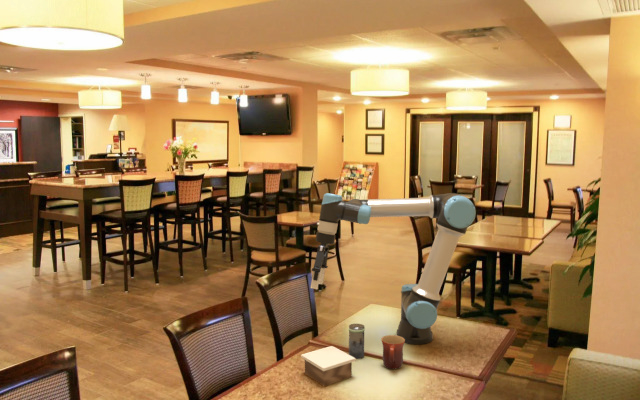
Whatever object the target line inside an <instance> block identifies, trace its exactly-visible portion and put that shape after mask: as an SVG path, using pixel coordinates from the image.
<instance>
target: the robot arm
mask: <svg viewBox="0 0 640 400" xmlns="http://www.w3.org/2000/svg"><path fill="white" fill-rule="evenodd" d="M322 197H323V198H322V202H321V205H320V212H319V219H318V222H316V225H317V230H316V231H317V232H316V234H315V241H316V242H317V243H319V244H318V246H317V252H316V256H315V260H314V263H313V267H312V268H311V272H312V276H311V282H310V289H315V290H318V288H319V285H323V283H324V279H325V274H326V270H327V269H328V268H329V267H328V255H329V250H330V245H334V244H335V241H336V240H335V239H336V235H335V234H337V230H338V225H339V220H340V221H345V222H350V223H355V224H359V225H361V224H363V225H368V224H369V223H370V219H371V218H391V217H394V218H395V217H398V218H399V217H429V218H430V219H437V220H436V226H437V229H438V230H437V232H436V235H435V237H434V240H433V243H432V245H431V248H430V251H429V253H428V256H427V259H426V261H425V264H424V267H423V269H422V273H421V275H420V279H419V280H418V283H407V284H403V285H402V286H401V289H400V294H401V296H400V297H401V299H400V302H401V303H400V305H401V306H400V307H401V308H400V309H401V310H400V321H399V324H398V327H397V328H398V329H396V336H400V337H403V338H404V339H405V343H406V344H411V345H425V344H428V343H431V342H432V341H433V337H434V336H433V335H434V334H433V331H432V326H433V325H434V324H435V323H436V321H437V319H438V307H439V304H440V302H441V298H442V297H441V296H440V294H439V293H440V290H441V287H442V285H443V283H444V280H445V278H446V275H447V272H448V270H449V266H450V264H451V262H452V258H453V257H454V253H455V250H456V248H457V245H458V242H459V241H460V238H461V237H462V236H465V235H466V233H467V230H468V228H469V226H470V225H472V223H473V222H474V221H475V218H476V212H477V211H476V207H475V205H474V203H473V202H472V201H471V199H469V197H466V196H464V195H461V194H459V193H455V192H451V193H444V194H443V193H441V194H430V195H429V196H428V197H409V198H405V197H403V198H374V199H372V198H371V199H370V198H368V199H359V198H353V199H350V200H349V201H346V200H343V199H344V198H343V195H340V194H334V193H328V192H326V193H324V194H323V196H322ZM405 343H404V344H405Z"/></svg>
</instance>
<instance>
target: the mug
mask: <svg viewBox="0 0 640 400" xmlns="http://www.w3.org/2000/svg"><path fill="white" fill-rule="evenodd" d="M380 341H381V344H382V363H383V367H385V368H386V369H388V370H389V369H390V370H398V369H400V368H402V367H403V362H404V350H403V349H404V346H405V345H404V344H405V339H404V338H403V337H400V336H397V334H395V335H394V334H390V335H389V334H388V335H384V336H382V337H381V339H380Z"/></svg>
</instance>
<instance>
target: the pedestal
mask: <svg viewBox="0 0 640 400" xmlns="http://www.w3.org/2000/svg"><path fill="white" fill-rule="evenodd" d="M300 358H301V359H303V360H304V374H305V376H308V377H310V378H311V379H313V380H314V381H315V382H318V384H320V385H322V386H323V385H324V386H323V387H327V386H329V385H332V384H335V383H338V382H341V381H344V380H347V379H349V378H352V377H353V376H352V375H353V374H352V370H353V369H352V368H353V367H352V366H353V365H352V364H353V363H354V362H356V360H357V359H356V358H354V357H352V356H350V355H349V353H346V352H345V351H343V350H340V349H339V348H337V347H335V346H333V345H330V346H327V347H323V348H319V349H315V350H313V351H309V352H306V353H303V354H300Z"/></svg>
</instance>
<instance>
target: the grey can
mask: <svg viewBox="0 0 640 400" xmlns="http://www.w3.org/2000/svg"><path fill="white" fill-rule="evenodd" d="M365 330H366V328H365V325H364V324H363V323H351V324H349V325H348V355H350V356H352V357H354V358H356V360H362V359H363V358H365Z"/></svg>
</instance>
